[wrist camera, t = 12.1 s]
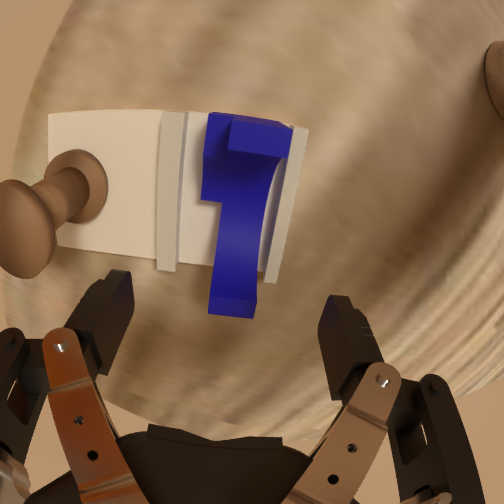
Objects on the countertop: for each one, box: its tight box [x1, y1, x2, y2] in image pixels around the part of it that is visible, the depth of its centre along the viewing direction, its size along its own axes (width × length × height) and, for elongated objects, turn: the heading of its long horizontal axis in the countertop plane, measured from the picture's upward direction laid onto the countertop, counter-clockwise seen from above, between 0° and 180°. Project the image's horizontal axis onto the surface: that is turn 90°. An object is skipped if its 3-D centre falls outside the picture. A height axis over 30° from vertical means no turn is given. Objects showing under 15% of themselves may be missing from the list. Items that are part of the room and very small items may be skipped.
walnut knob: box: [0, 149, 108, 279], centre depth 16 cm, size 6×6×9 cm
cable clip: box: [200, 112, 293, 319], centre depth 19 cm, size 12×4×6 cm, turn 171°
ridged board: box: [48, 109, 309, 283], centre depth 21 cm, size 20×12×3 cm, turn 82°
